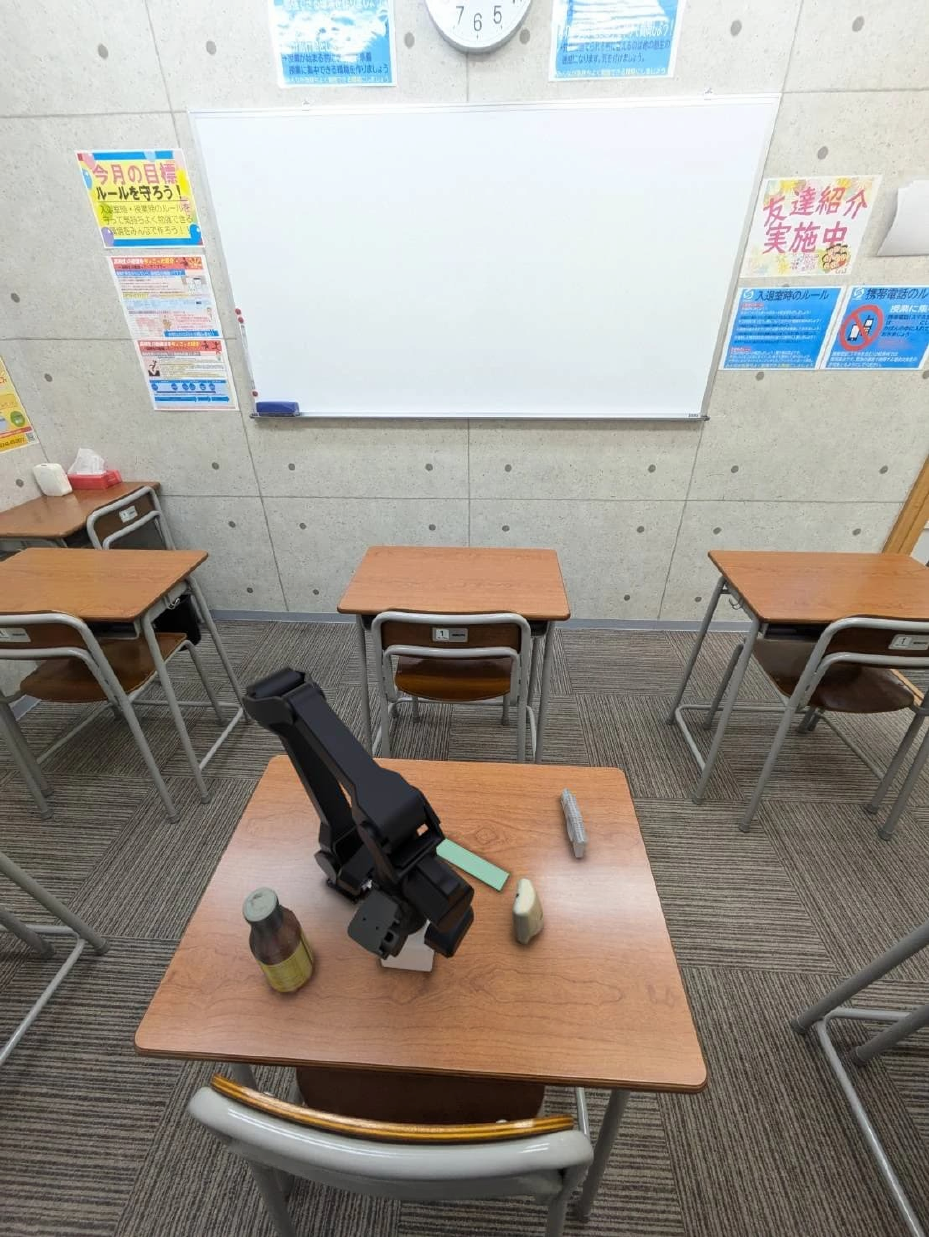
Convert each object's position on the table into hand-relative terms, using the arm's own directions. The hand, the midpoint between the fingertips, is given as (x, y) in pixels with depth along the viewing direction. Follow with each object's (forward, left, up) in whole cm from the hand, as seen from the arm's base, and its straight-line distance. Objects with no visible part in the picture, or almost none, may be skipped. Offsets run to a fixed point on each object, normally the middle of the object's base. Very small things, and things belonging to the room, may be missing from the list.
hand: (408, 927), depth 74 cm
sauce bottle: (-12, -12, -5) cm, 18 cm away
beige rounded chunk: (+13, +11, -5) cm, 18 cm away
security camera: (0, 0, -5) cm, 5 cm away
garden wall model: (+13, +30, -5) cm, 33 cm away
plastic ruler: (0, +15, -5) cm, 16 cm away
